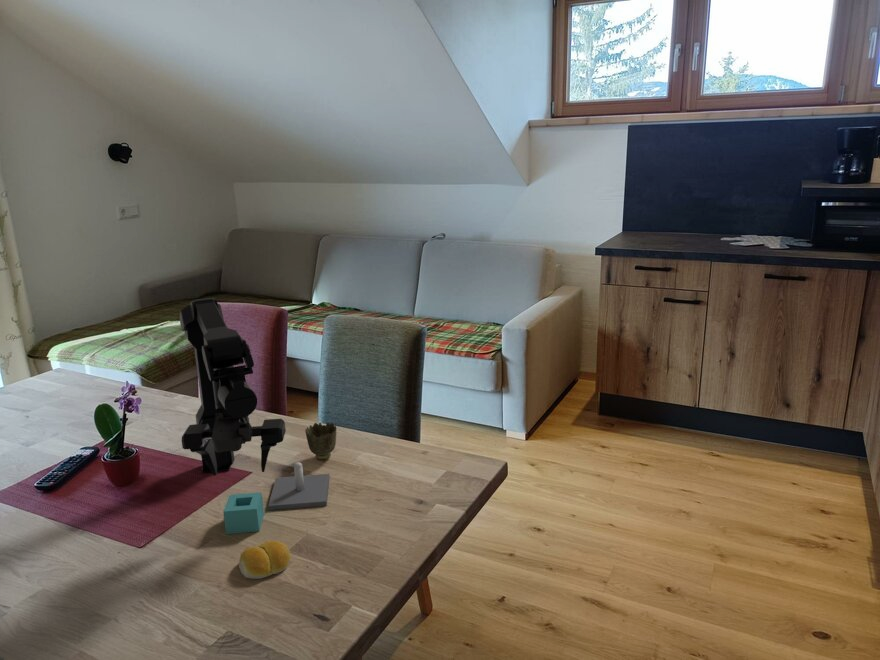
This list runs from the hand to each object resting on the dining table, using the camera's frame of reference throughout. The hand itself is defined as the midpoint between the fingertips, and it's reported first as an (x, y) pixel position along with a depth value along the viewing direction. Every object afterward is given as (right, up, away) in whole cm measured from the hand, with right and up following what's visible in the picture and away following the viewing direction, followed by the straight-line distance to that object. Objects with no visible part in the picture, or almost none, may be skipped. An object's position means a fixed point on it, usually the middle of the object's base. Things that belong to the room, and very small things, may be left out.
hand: (239, 473), depth 129 cm
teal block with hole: (0, -11, +3) cm, 11 cm away
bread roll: (+8, -15, -10) cm, 20 cm away
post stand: (+9, -7, +14) cm, 18 cm away
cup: (+11, -3, +30) cm, 32 cm away
